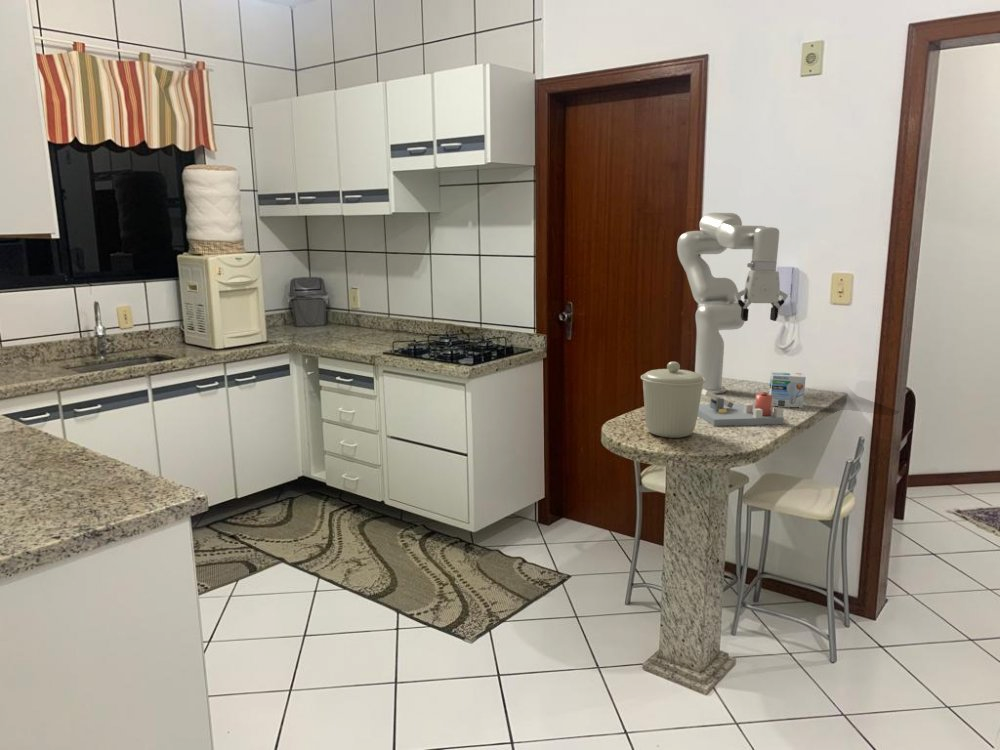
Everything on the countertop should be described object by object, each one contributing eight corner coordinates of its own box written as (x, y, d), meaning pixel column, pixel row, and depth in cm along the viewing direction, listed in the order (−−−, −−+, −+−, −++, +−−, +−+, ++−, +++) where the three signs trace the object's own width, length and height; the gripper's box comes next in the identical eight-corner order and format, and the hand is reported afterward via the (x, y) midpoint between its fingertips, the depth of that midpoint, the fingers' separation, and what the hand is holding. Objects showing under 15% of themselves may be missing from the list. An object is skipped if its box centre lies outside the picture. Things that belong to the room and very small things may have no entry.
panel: (690, 411, 248) (691, 392, 247) (754, 409, 251) (756, 391, 250) (713, 426, 230) (715, 406, 229) (783, 424, 233) (784, 404, 232)
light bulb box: (769, 406, 255) (772, 374, 253) (767, 402, 262) (770, 371, 260) (803, 408, 253) (806, 376, 251) (801, 404, 259) (803, 372, 257)
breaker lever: (700, 393, 243) (703, 388, 242) (726, 405, 245) (729, 401, 244) (705, 395, 239) (707, 390, 239) (731, 408, 241) (734, 403, 241)
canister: (709, 430, 225) (714, 360, 221) (691, 445, 209) (695, 369, 205) (650, 422, 234) (653, 354, 230) (629, 436, 218) (631, 363, 214)
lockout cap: (758, 416, 234) (760, 394, 232) (751, 412, 238) (753, 391, 237) (773, 416, 234) (775, 394, 233) (766, 412, 239) (768, 391, 238)
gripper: (742, 267, 238) (738, 322, 242) (795, 268, 240) (790, 322, 244) (732, 265, 245) (728, 318, 249) (783, 266, 247) (778, 318, 251)
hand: (758, 320), depth 246 cm, fingers open, 9 cm apart
